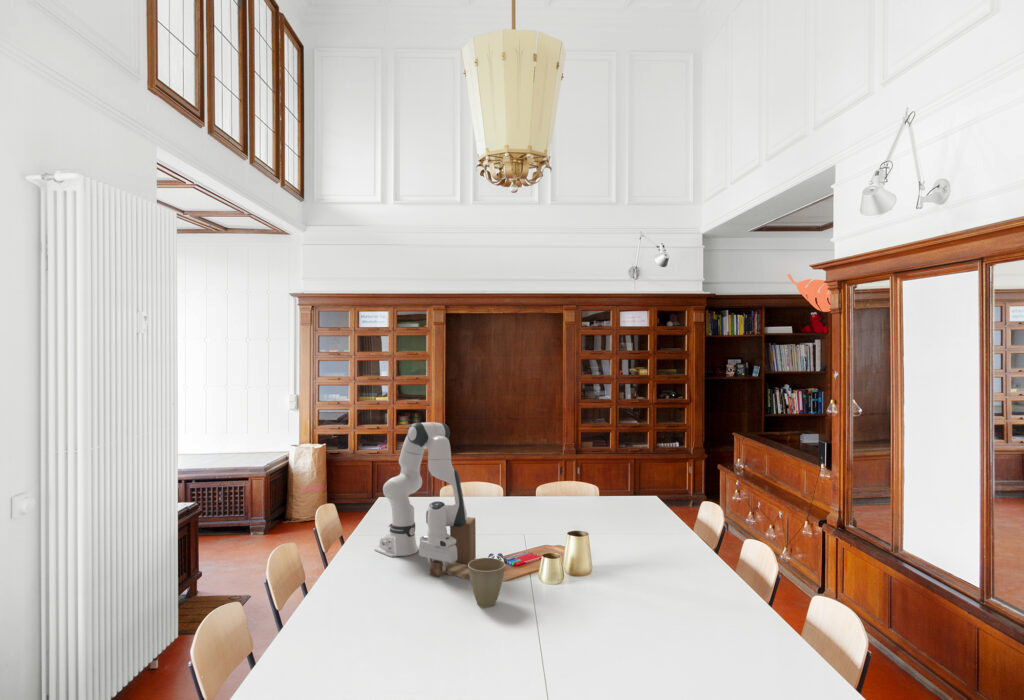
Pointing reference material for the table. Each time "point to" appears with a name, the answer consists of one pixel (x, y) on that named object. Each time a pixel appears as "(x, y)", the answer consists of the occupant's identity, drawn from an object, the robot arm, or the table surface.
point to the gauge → (436, 568)
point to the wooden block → (465, 541)
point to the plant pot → (486, 580)
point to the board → (458, 570)
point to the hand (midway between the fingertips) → (437, 569)
